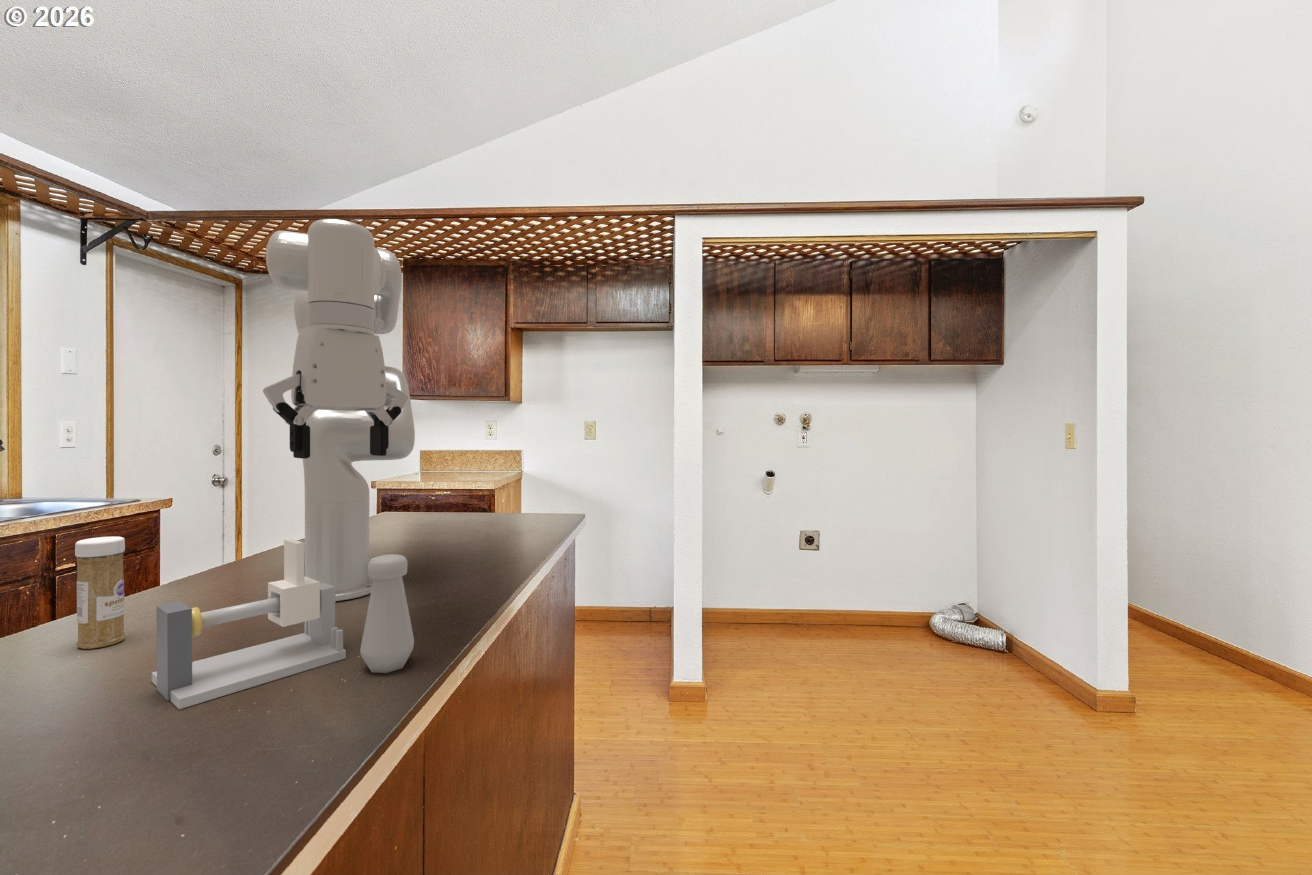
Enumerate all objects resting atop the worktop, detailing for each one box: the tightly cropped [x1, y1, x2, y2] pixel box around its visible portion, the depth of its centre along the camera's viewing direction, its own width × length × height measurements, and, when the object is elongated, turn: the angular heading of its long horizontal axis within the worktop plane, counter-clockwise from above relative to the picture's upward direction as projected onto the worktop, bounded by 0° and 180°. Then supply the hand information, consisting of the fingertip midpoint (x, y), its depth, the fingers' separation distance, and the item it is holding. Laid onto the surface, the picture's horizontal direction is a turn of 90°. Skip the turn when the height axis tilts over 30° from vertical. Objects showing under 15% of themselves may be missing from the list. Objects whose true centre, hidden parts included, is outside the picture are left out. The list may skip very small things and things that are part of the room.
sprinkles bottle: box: [74, 536, 126, 650], centre depth 73 cm, size 5×5×14 cm
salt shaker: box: [359, 553, 415, 674], centre depth 67 cm, size 6×6×13 cm
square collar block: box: [267, 538, 320, 628], centre depth 69 cm, size 4×4×9 cm
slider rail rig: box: [151, 583, 347, 710], centre depth 66 cm, size 16×10×9 cm, turn 143°
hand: (341, 456), depth 73 cm, fingers open, 9 cm apart
